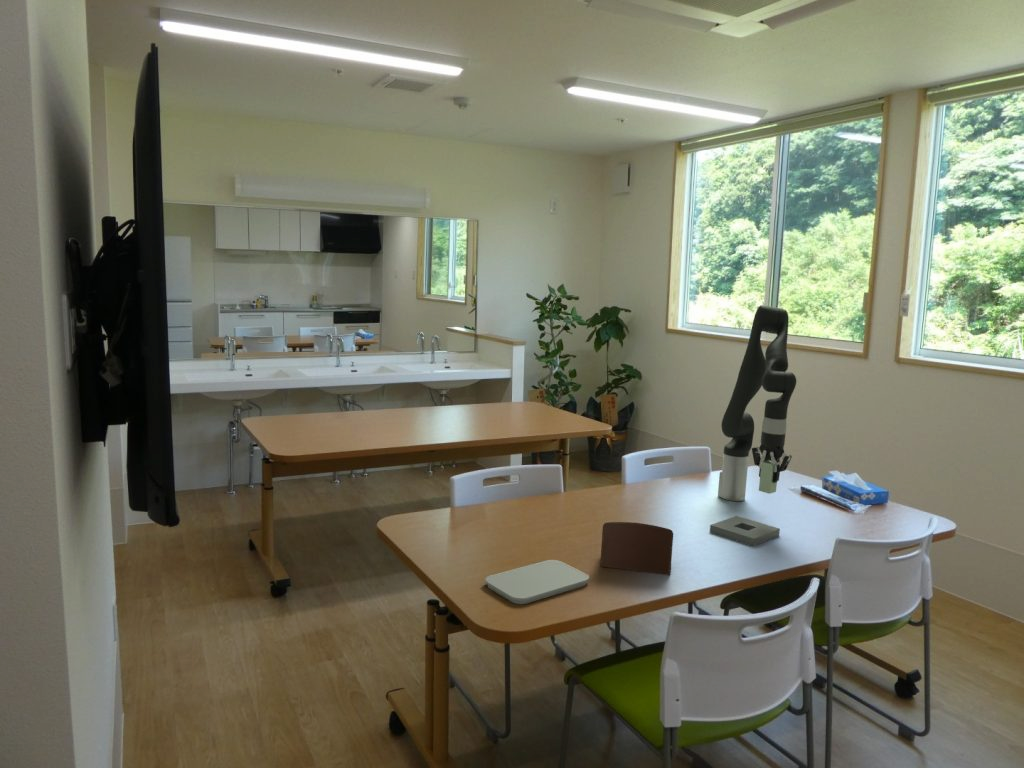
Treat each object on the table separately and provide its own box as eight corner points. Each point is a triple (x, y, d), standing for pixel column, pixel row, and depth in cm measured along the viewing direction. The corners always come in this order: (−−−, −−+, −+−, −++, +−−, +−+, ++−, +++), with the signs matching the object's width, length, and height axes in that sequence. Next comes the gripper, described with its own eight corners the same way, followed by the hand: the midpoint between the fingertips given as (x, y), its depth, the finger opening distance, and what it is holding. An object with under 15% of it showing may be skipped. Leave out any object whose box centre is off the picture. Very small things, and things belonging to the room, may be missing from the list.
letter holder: (670, 576, 209) (674, 528, 207) (599, 567, 213) (602, 520, 211) (670, 563, 219) (674, 516, 217) (603, 555, 223) (605, 509, 221)
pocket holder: (709, 532, 246) (710, 524, 246) (736, 522, 257) (736, 515, 257) (753, 546, 235) (754, 538, 234) (779, 535, 245) (779, 528, 245)
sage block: (758, 490, 251) (761, 461, 249) (765, 488, 253) (768, 460, 252) (769, 493, 248) (772, 464, 246) (775, 491, 250) (779, 463, 249)
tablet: (480, 586, 198) (480, 578, 198) (554, 565, 214) (554, 558, 214) (517, 609, 186) (518, 600, 185) (593, 585, 201) (594, 577, 201)
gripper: (799, 434, 244) (793, 484, 247) (761, 425, 255) (755, 473, 258) (787, 436, 240) (781, 488, 242) (748, 427, 250) (743, 477, 253)
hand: (768, 480), depth 250 cm, fingers closed on sage block, 4 cm apart
